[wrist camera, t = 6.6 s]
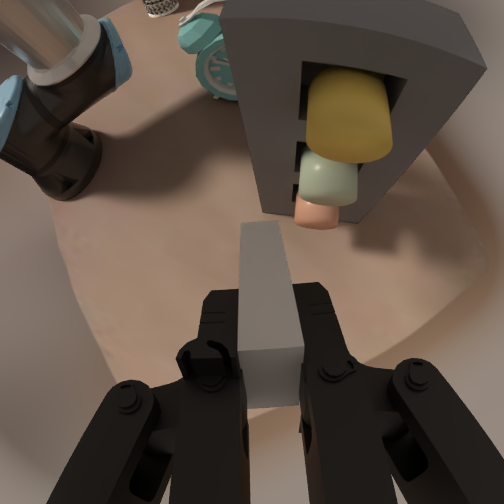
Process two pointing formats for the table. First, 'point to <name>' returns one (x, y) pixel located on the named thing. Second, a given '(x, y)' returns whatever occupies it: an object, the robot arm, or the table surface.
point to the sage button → (327, 180)
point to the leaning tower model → (160, 7)
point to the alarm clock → (208, 51)
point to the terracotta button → (315, 215)
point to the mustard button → (348, 115)
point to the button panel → (351, 55)
